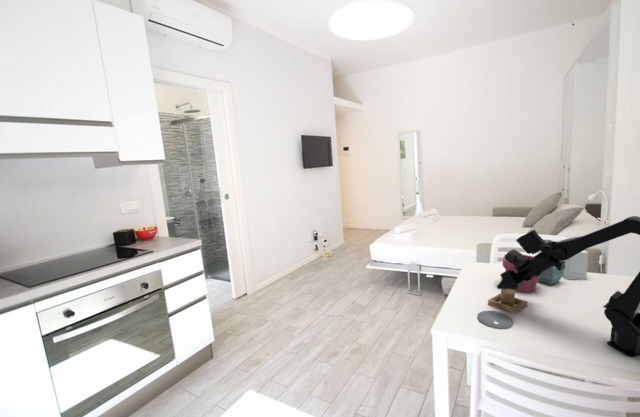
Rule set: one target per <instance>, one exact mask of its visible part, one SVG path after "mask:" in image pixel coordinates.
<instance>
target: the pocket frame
mask: <svg viewBox="0 0 640 417" xmlns="http://www.w3.org/2000/svg"><path fill="white" fill-rule="evenodd" d="M487 301H488V302H487V304H488V306H491V307H493V308H496V309H497V310H498V309H499V310H501V311H504V312H506V313H509V314H511V315H516V314H517V313H519V312H520V311H523V309H525V308H527V307H528V301H527V300H524V299H521V298H518V297H515V299H514V306H513V307H511V306H508V305H505V304H502V303H501V292H500V293H498V294H497V295H495V296H494V297H493V296H492V297H491V298H489V299H488V300H487Z"/></svg>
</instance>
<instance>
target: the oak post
mask: <svg viewBox="0 0 640 417" xmlns="http://www.w3.org/2000/svg"><path fill="white" fill-rule="evenodd" d="M500 278H501V281H502V280H503V278H502V277H501V276H500ZM501 281H500V282H501ZM500 293H501V301H500V303H502V304H505V305H508V306H511V307H513V306H515V304H514V299H515V298H516V297H515V295H516V294H515V293H516V290H515V289H514V290H512V289H500Z"/></svg>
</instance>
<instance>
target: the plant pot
mask: <svg viewBox="0 0 640 417" xmlns="http://www.w3.org/2000/svg"><path fill="white" fill-rule="evenodd" d="M523 255H524V256H525V257H527V258H528V259H529V258H531V257H534V256H533V255H529V254H523ZM515 266H516V265H513V264H512V263H509V262H508V261H506V260H505V255H504V256H503V257H502V267H503V268H504V269H505V271H507V270H513V271H514V272H515V273H518V272H517V270H516V269H515V268H514V267H515ZM538 278H539V276H538V277H536V278H534V279H532V280H529V281H526V280H525V281H522V285H521V286H520V287H518V288H516V289H515V292H516V291H517V292H519V293H520V292H521V293H533V292H534V291H535V289H536V286H537V283H538V282H539V281H538Z"/></svg>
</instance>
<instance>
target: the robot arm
mask: <svg viewBox="0 0 640 417" xmlns="http://www.w3.org/2000/svg"><path fill="white" fill-rule="evenodd" d="M631 233H632V234H635V235H638V236H640V216H638V215H631V216H629V217H627V218H624V219H623V220H620V221H618V222H616V223H613V224H610V225H607V226H605V227H603V228H600V229H598V230H594V231H593V232H590V233H587V234H585V235H582V236H581V235H580V236H574V237H570V238H565V239H562V240H560V241H551V240H549V241H547V242H546V241H545V240H544V239H543V238H542V237H541V236H540V235H539V234H538V232H537V230H535V229H532V230H530V231H529V232H528V233H525V234H524V235H520V237H518V238H516V240H515V241H516V242H517V243H518V244H519V246H520V247H521V248H522V249H523V250H524V252H526V254H527V255H531V254H532V255H534V256H533V257H531V258H529V259H528V258H527V257H525V256H524V255H525V254H523V253H521V252H520V251H518V250H516V249H512V250H508V251H507V253H506V254H504V256H505V260H506V261H508V262H509V263H512V264H513V265H516V266H515V267H514V268H515V269H516V270H517V272H518V273H515V272H514V271H513V270H507V271H506V270H505V271H503V272H502V273H501V274H500V278H501V277H502V278H503V280H502V281H499V283H498V284H497V285H496V288H497V290H501V289H512V290H514V289H516V288H518V287H520V286H521V285H522V281H525V280H526V281H529V280H532V279H534V278H536V277H538V276H540V275H542V273H544V272H545V271H547V270H549V269H551V268H553V267H556V268H557V269H558V270H559V271H561V270H562V269H564V268H565V261H564V260H567V259H569V258H571V257H573V256H575V255H576V254H578V253H580V252H582V251H586V250H587V249H589V248H592V247H594V246H598V245H601V244H603V243H606V242H609V241H612V240H615V239H617V238H620V237H623V236H626V235H629V234H631ZM536 253H538V254H536ZM602 307H603V308H604V316H605V317H606V319H607V320H608V321H609V322H610V325H611V326H612V327H611V328H610V340H609V341H606V344H607V345H609V346H610V347H612V348H614V349H616V350H618V351H619V352H620V353H623V354H624V355H626V356H628V357H637V356H640V271H639V272H638V274H636V276H635V278H634V279H633V280H632V281H631V283H630V284H629V285H628V287H627V288H626V290H625V291H624V292H621V291H619V290H617V291H615V292H614V293H613V294H612V295H611V296H610V297H609V299H608V302H606V304H605V305H603V306H602Z"/></svg>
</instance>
